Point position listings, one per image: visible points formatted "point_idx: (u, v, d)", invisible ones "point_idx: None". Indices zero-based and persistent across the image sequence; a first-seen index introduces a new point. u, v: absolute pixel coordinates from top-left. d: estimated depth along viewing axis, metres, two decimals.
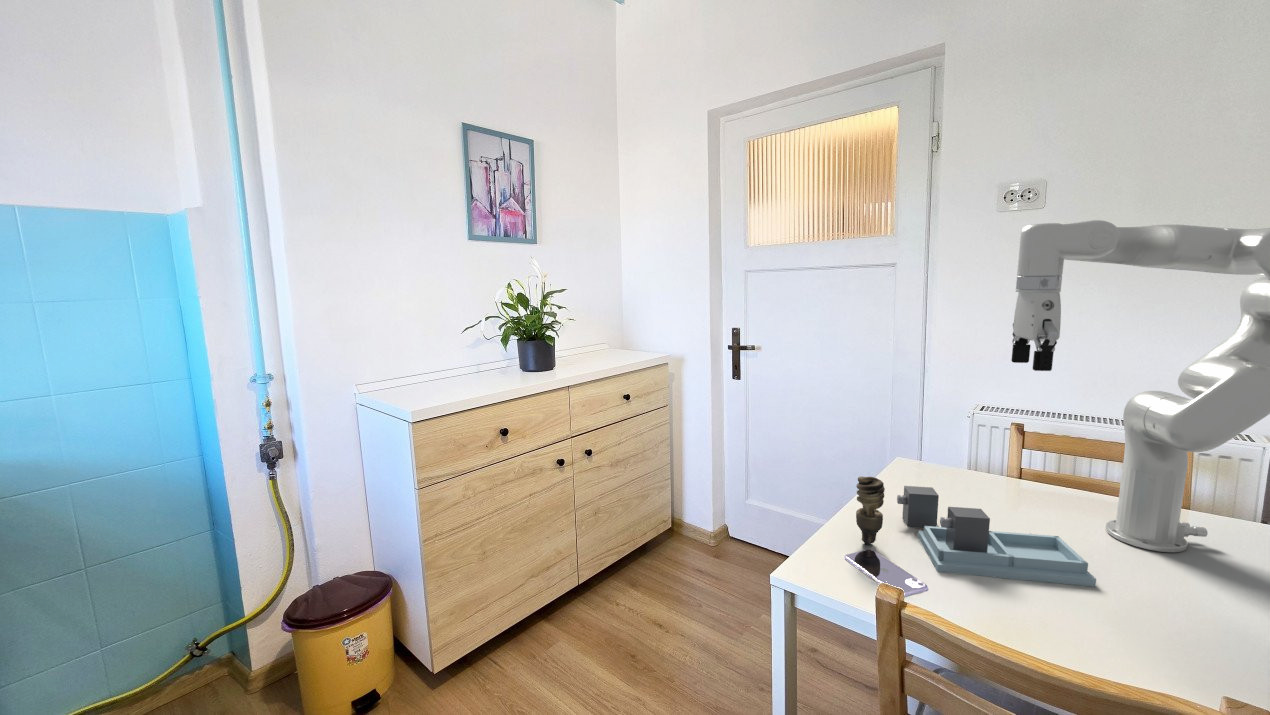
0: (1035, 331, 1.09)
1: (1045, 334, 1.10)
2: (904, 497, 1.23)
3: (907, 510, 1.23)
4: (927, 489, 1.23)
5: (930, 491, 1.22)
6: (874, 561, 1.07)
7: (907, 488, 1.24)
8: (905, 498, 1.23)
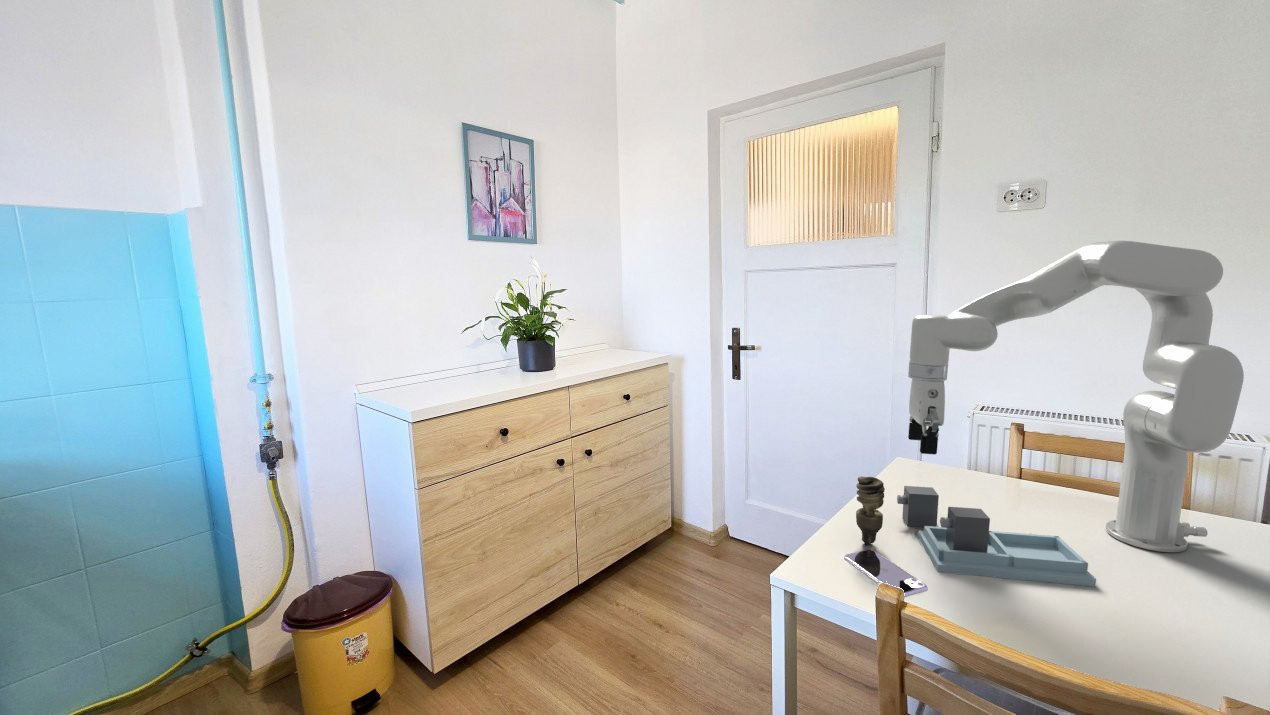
0: (921, 417, 1.15)
1: None
2: (904, 497, 1.23)
3: (907, 510, 1.23)
4: (927, 489, 1.23)
5: (930, 491, 1.22)
6: (874, 561, 1.07)
7: (907, 488, 1.24)
8: (905, 498, 1.23)
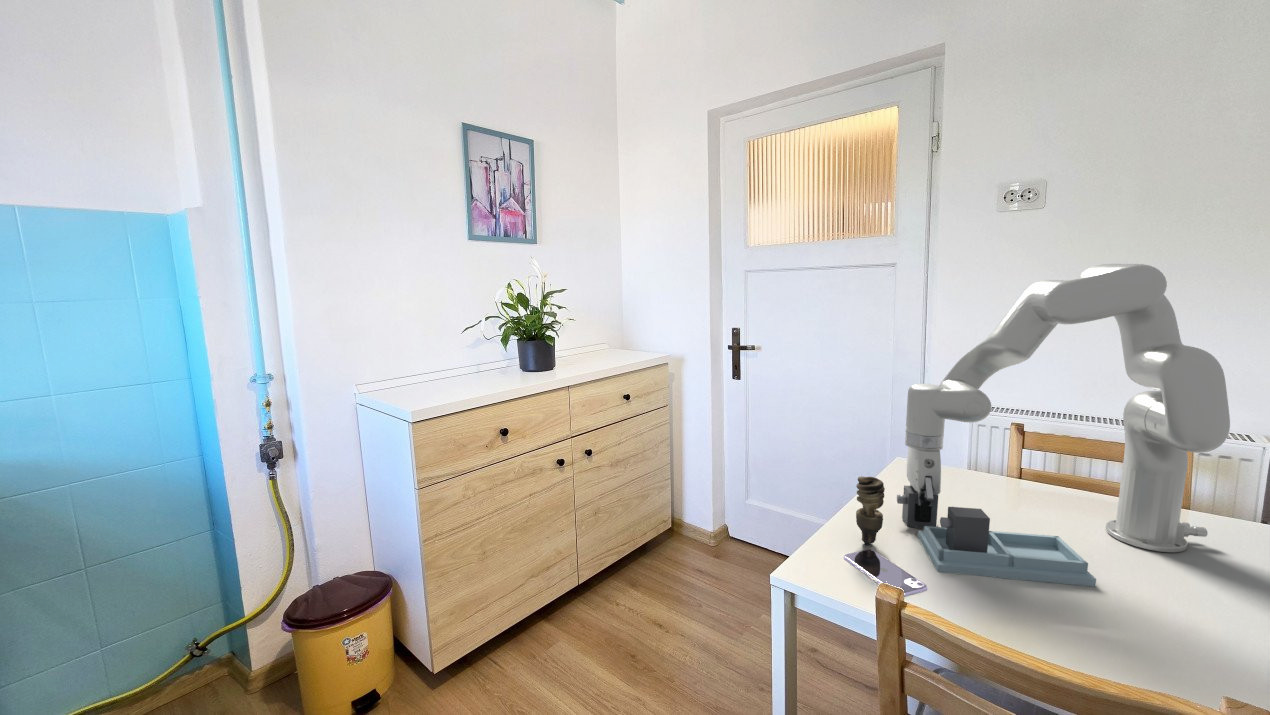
0: (918, 486, 1.18)
1: None
2: (904, 497, 1.23)
3: (906, 510, 1.23)
4: None
5: None
6: (873, 561, 1.08)
7: (907, 488, 1.24)
8: (905, 498, 1.23)
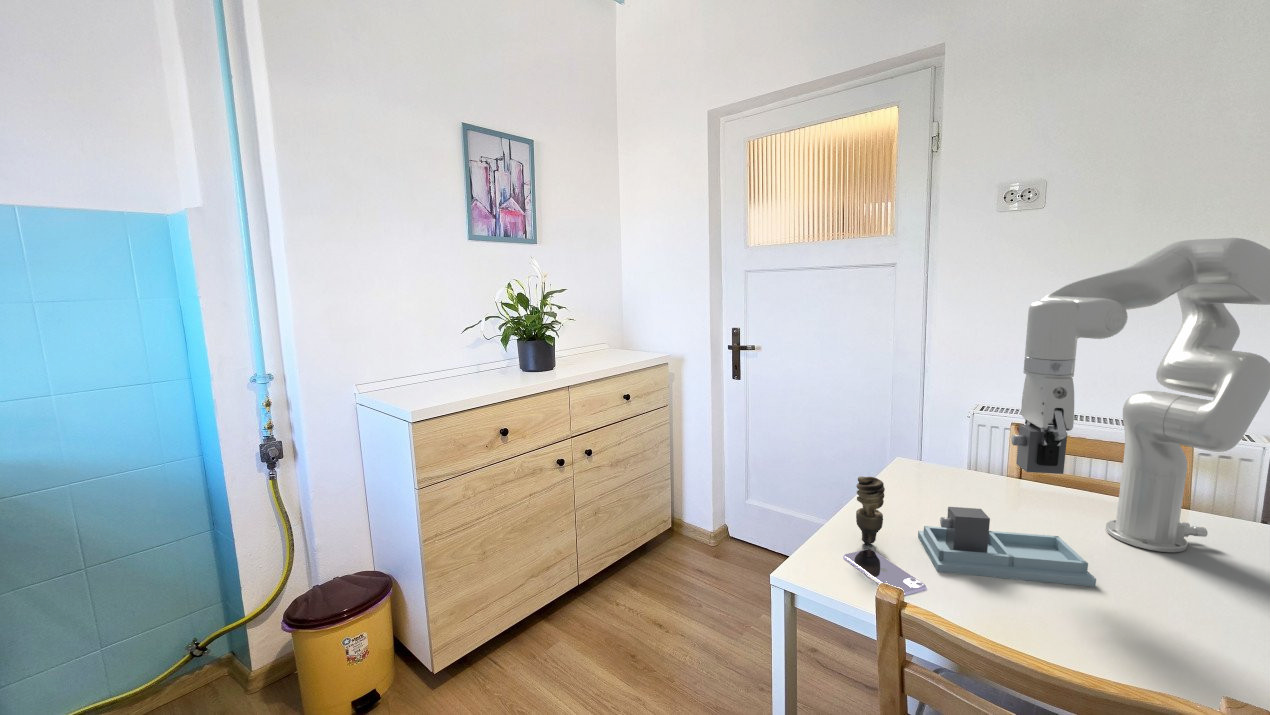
0: (1045, 420, 0.98)
1: None
2: (1022, 437, 1.03)
3: (1025, 452, 1.03)
4: (1049, 427, 1.03)
5: None
6: (873, 561, 1.08)
7: (1025, 427, 1.04)
8: (1023, 438, 1.03)
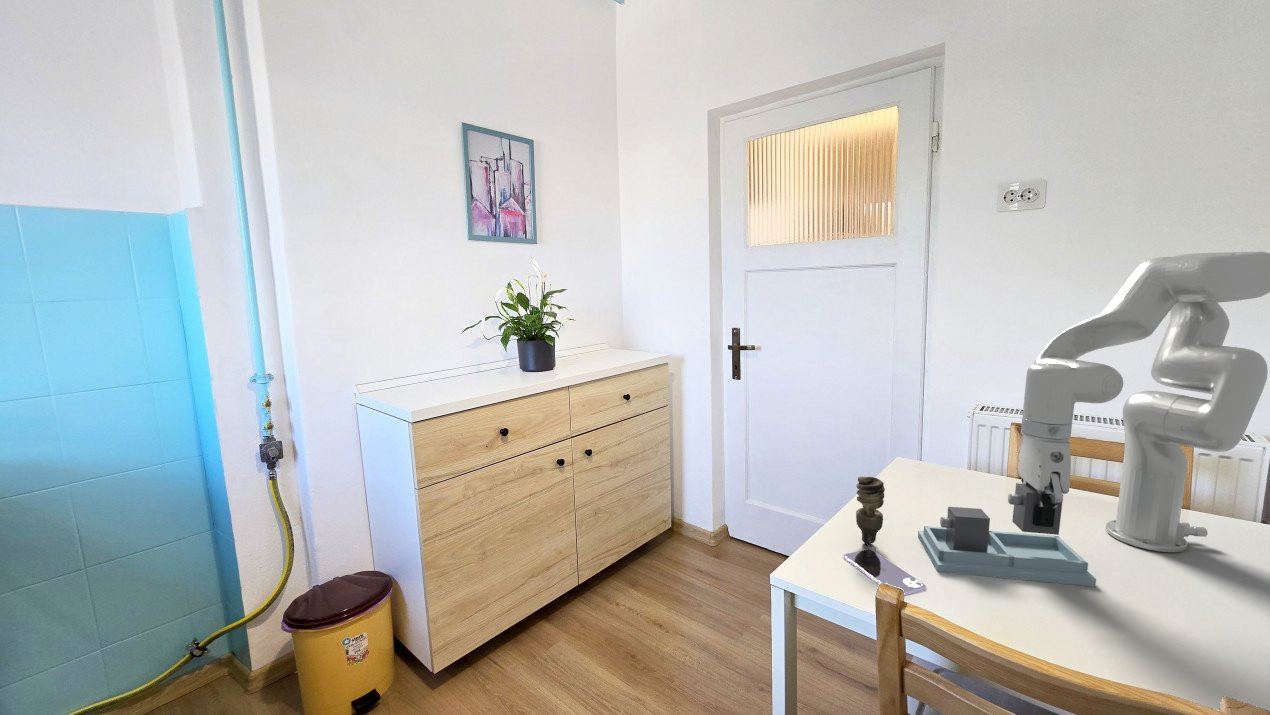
0: (1042, 483, 0.99)
1: None
2: (1018, 496, 1.04)
3: (1022, 512, 1.04)
4: (1045, 488, 1.04)
5: None
6: (873, 561, 1.08)
7: (1021, 486, 1.05)
8: (1020, 498, 1.04)
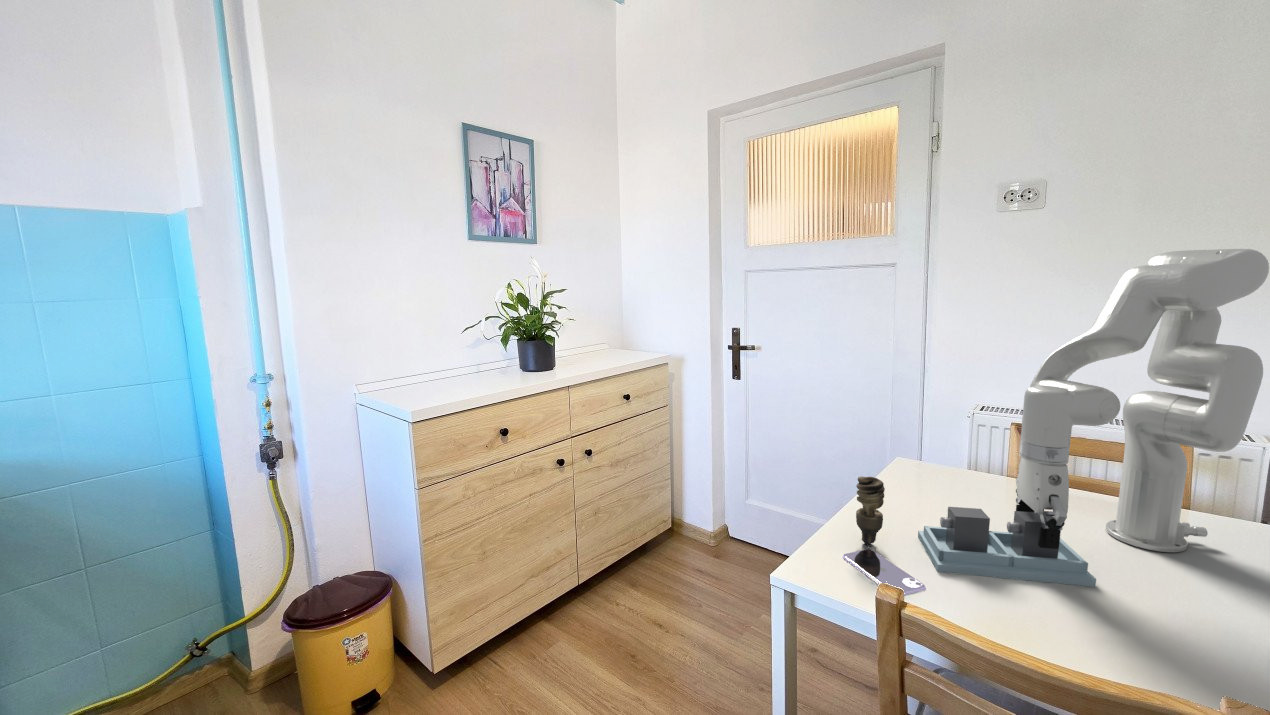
0: (1041, 506, 1.00)
1: (1051, 507, 1.01)
2: (1017, 525, 1.05)
3: (1020, 540, 1.05)
4: None
5: (1049, 518, 1.04)
6: (872, 560, 1.08)
7: (1020, 514, 1.06)
8: (1018, 526, 1.05)
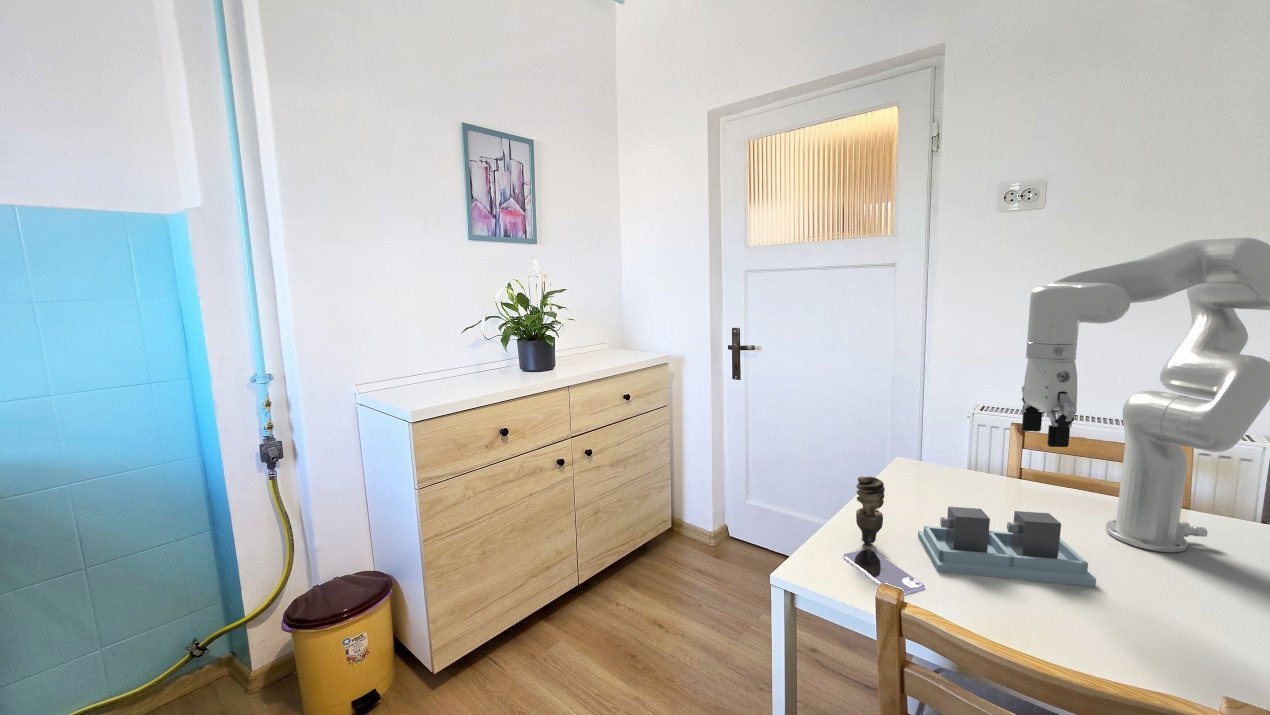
0: (1049, 404, 0.99)
1: (1060, 406, 1.00)
2: (1017, 525, 1.05)
3: (1020, 540, 1.05)
4: (1043, 516, 1.05)
5: (1049, 518, 1.04)
6: (872, 560, 1.08)
7: (1020, 514, 1.06)
8: (1018, 526, 1.05)
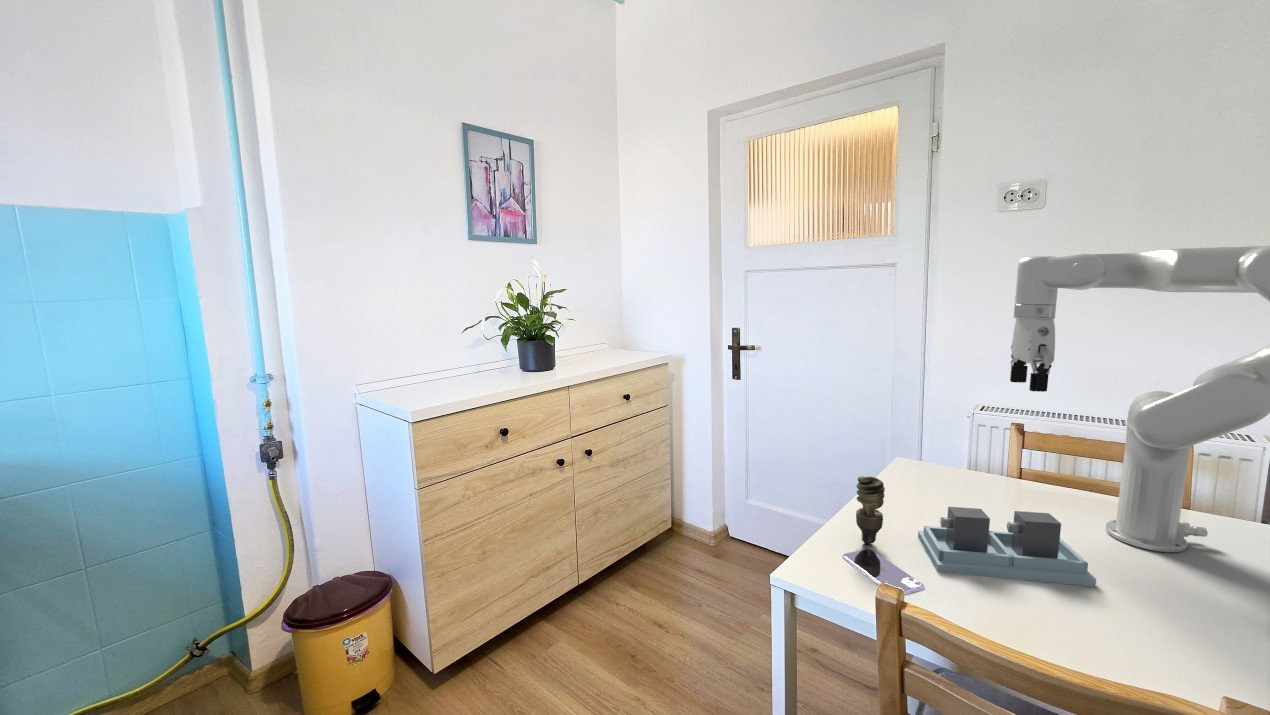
0: (1031, 355, 1.19)
1: (1041, 357, 1.20)
2: (1017, 525, 1.05)
3: (1020, 540, 1.05)
4: (1043, 516, 1.05)
5: (1049, 518, 1.04)
6: (872, 560, 1.08)
7: (1020, 514, 1.06)
8: (1018, 526, 1.05)
